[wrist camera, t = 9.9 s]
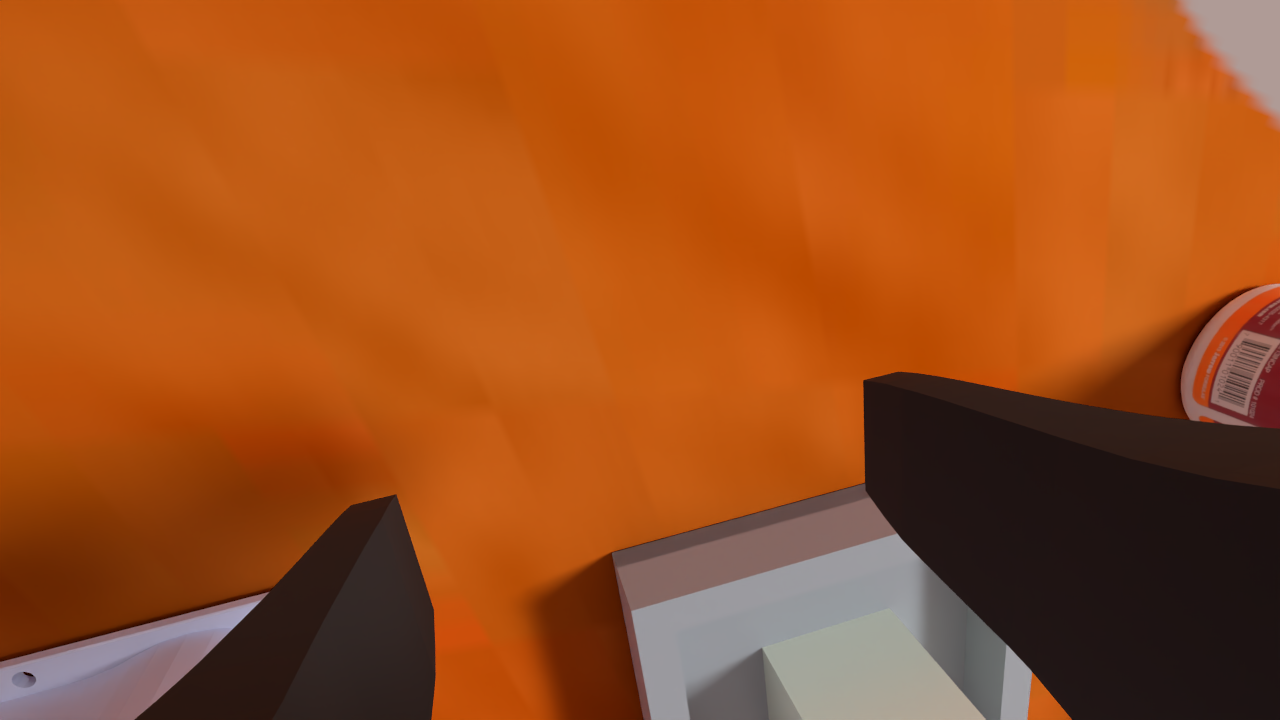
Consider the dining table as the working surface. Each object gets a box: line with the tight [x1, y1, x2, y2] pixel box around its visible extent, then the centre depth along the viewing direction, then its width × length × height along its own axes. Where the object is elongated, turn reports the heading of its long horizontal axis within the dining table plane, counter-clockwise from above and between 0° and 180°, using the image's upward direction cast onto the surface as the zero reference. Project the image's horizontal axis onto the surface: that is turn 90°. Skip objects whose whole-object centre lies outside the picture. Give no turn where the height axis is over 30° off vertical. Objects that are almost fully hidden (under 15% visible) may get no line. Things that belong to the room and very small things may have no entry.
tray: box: [612, 484, 1032, 720], centre depth 24 cm, size 14×16×3 cm
